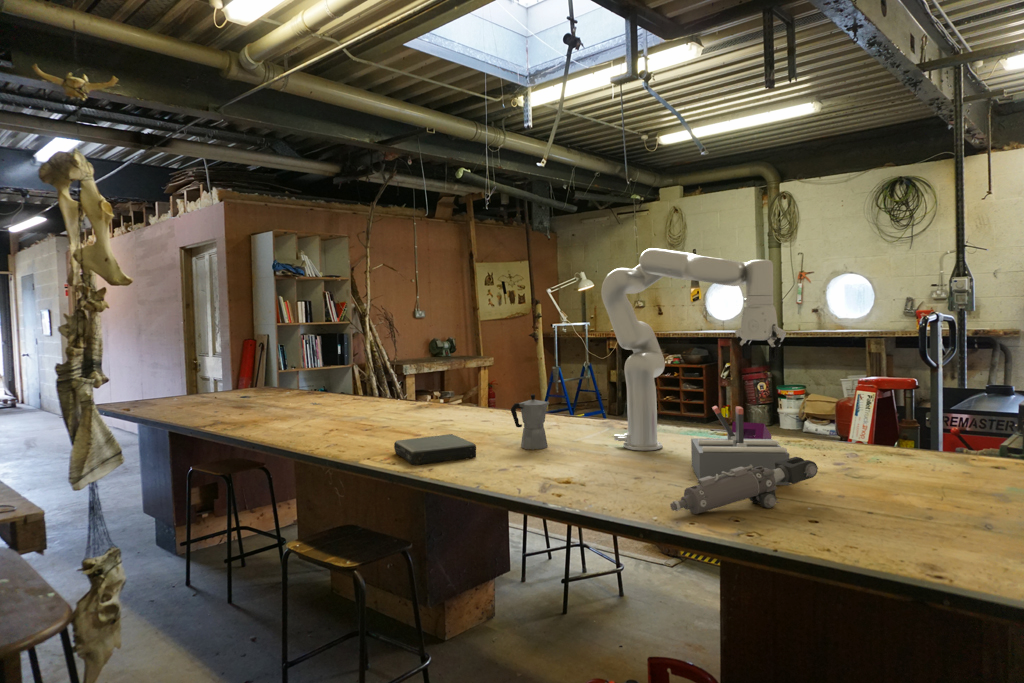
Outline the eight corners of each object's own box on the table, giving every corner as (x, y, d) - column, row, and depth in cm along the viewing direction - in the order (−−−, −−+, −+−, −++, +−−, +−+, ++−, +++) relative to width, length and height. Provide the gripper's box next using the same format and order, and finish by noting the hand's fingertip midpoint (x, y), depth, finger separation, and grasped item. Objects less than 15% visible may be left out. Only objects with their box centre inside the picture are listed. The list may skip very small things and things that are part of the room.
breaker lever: (738, 448, 164) (738, 408, 164) (736, 445, 168) (735, 406, 168) (743, 448, 164) (743, 408, 163) (740, 445, 168) (740, 406, 167)
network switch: (483, 457, 201) (483, 442, 201) (417, 469, 188) (416, 453, 188) (448, 446, 220) (448, 432, 220) (386, 456, 207) (385, 441, 207)
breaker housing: (699, 483, 163) (698, 414, 162) (691, 465, 181) (690, 404, 181) (789, 485, 159) (789, 414, 158) (771, 466, 178) (771, 403, 177)
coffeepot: (542, 442, 221) (541, 391, 220) (558, 446, 213) (556, 393, 212) (504, 448, 213) (503, 395, 212) (519, 452, 205) (518, 398, 204)
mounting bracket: (742, 461, 210) (730, 447, 196) (744, 436, 213) (732, 421, 199) (772, 464, 205) (762, 450, 191) (773, 439, 208) (764, 423, 194)
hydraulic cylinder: (824, 492, 144) (817, 451, 143) (684, 537, 135) (677, 492, 134) (801, 484, 151) (795, 444, 150) (667, 526, 142) (660, 484, 141)
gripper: (727, 302, 191) (727, 358, 192) (776, 301, 176) (776, 362, 177) (744, 302, 195) (744, 357, 196) (793, 301, 180) (793, 360, 181)
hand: (759, 359), depth 186 cm, fingers open, 9 cm apart
